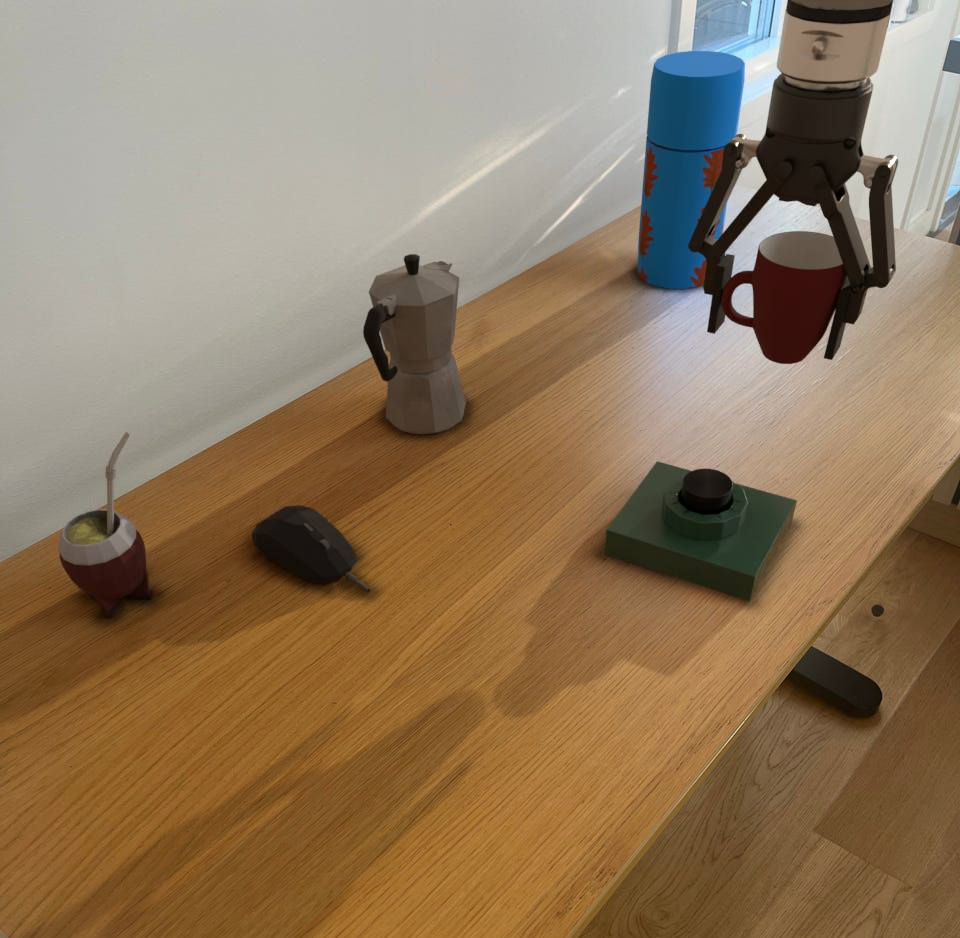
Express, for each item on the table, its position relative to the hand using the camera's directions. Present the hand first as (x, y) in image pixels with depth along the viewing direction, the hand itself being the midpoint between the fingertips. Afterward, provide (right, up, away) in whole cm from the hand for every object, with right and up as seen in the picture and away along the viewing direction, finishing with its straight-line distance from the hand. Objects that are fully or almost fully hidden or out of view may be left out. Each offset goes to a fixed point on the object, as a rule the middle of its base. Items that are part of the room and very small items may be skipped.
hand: (772, 339), depth 89 cm
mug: (0, -1, +1) cm, 2 cm away
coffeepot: (-34, -4, +17) cm, 38 cm away
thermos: (-1, +22, +40) cm, 45 cm away
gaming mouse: (-43, -21, +1) cm, 48 cm away
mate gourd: (-60, -24, -1) cm, 65 cm away
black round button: (-7, -16, -3) cm, 17 cm away
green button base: (-7, -19, 0) cm, 20 cm away
